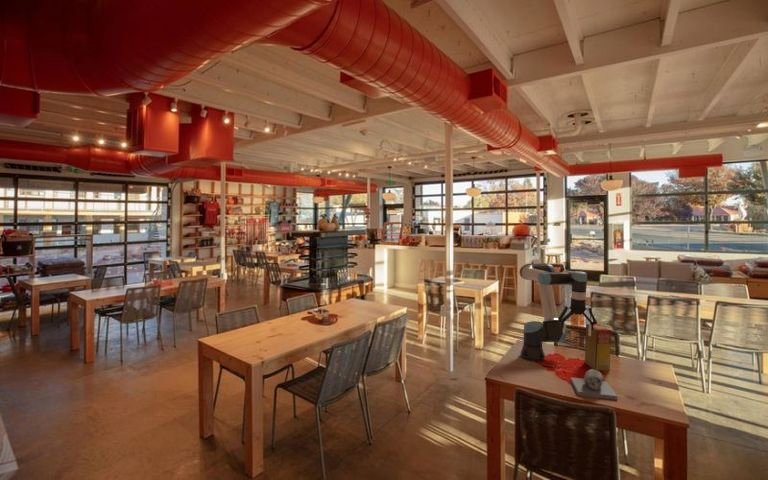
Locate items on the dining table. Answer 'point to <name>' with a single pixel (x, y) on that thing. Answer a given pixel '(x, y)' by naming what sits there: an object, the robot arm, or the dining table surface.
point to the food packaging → (598, 348)
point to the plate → (584, 390)
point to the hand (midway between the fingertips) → (576, 334)
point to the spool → (593, 379)
